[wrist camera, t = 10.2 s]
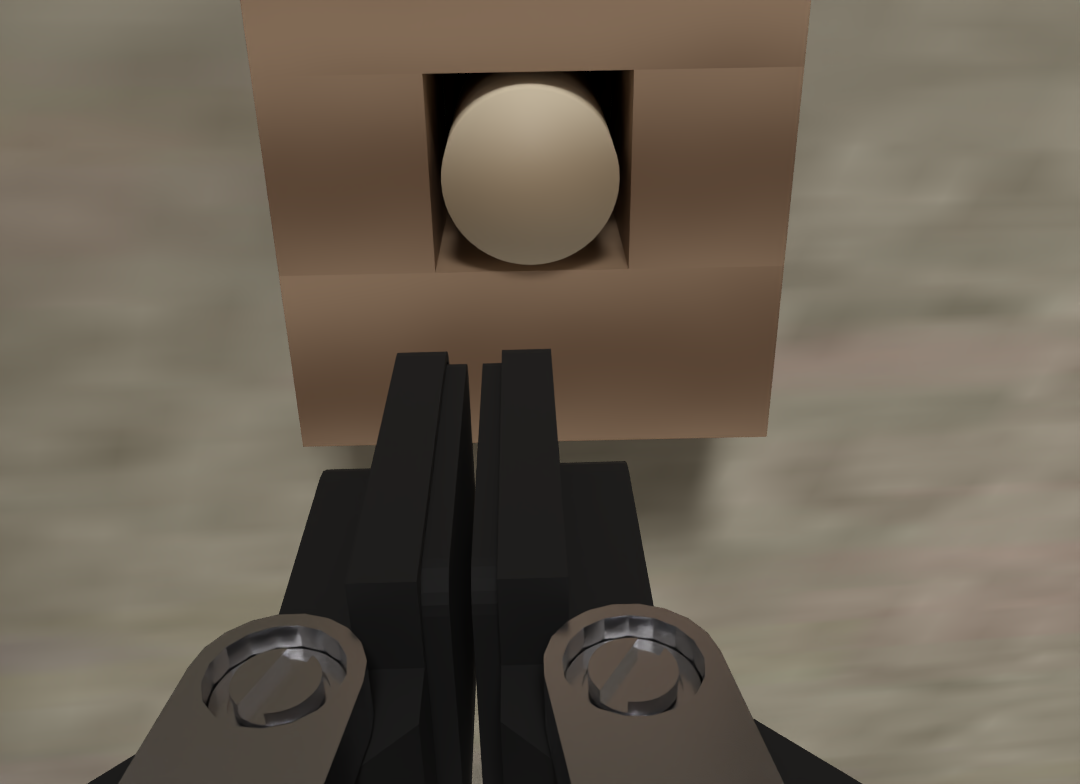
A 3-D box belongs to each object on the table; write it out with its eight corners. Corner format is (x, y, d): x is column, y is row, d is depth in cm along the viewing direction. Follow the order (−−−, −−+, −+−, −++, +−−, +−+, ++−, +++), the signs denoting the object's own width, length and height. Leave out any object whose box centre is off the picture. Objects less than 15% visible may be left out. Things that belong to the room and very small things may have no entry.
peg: (451, 45, 27) (435, 90, 22) (602, 43, 27) (621, 87, 22) (459, 193, 29) (445, 266, 24) (600, 190, 29) (618, 262, 24)
